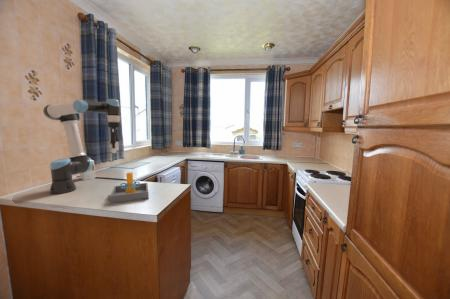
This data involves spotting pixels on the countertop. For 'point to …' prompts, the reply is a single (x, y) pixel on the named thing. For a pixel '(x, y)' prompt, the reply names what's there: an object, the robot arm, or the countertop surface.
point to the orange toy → (130, 183)
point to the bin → (129, 194)
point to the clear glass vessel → (88, 173)
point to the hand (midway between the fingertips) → (115, 151)
